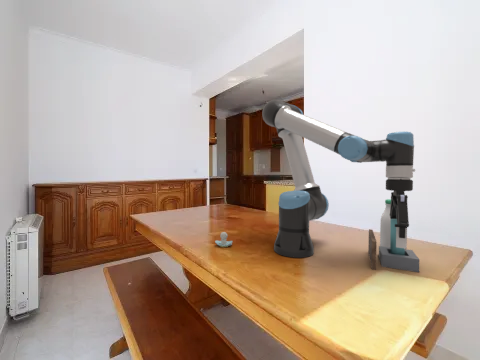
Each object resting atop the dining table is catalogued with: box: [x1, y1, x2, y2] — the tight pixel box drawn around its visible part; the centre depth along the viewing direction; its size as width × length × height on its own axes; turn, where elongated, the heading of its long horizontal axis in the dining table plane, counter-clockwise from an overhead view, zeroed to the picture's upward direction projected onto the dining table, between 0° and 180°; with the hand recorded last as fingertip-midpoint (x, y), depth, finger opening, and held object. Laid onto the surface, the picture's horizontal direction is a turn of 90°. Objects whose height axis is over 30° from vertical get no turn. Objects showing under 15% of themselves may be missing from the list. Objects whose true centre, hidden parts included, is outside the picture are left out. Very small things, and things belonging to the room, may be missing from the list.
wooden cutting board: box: [367, 229, 378, 271], centre depth 82 cm, size 1×18×9 cm, turn 154°
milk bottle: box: [379, 198, 391, 247], centre depth 95 cm, size 8×8×20 cm
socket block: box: [378, 245, 420, 273], centre depth 78 cm, size 10×10×4 cm
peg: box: [390, 219, 405, 256], centre depth 78 cm, size 4×4×14 cm
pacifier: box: [214, 231, 234, 248], centre depth 98 cm, size 7×6×6 cm
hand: (397, 242), depth 78 cm, fingers open, 12 cm apart
